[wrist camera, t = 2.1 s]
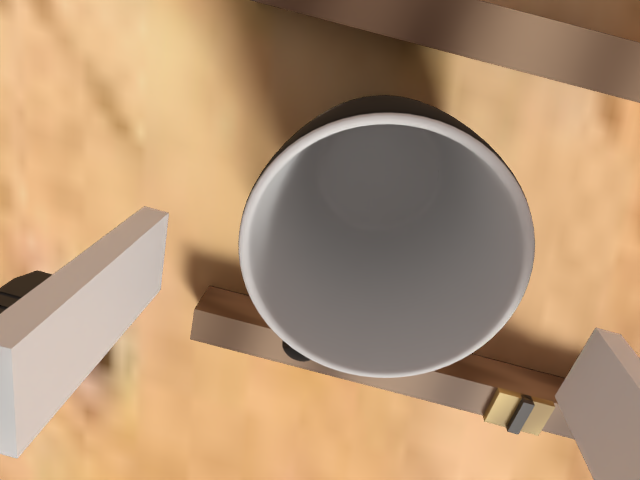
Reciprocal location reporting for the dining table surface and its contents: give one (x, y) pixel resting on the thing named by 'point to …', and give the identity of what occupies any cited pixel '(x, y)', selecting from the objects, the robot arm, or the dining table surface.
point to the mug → (386, 240)
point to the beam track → (488, 46)
